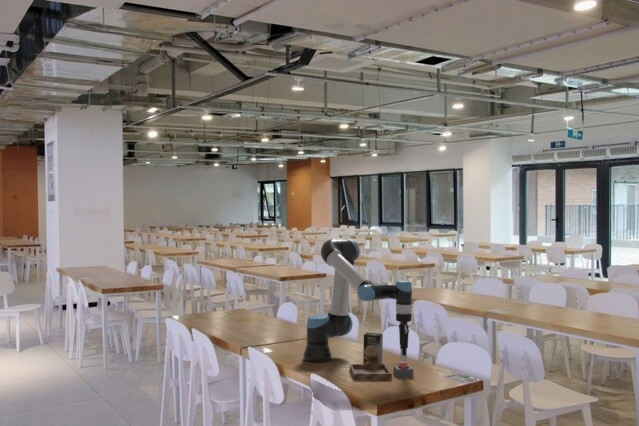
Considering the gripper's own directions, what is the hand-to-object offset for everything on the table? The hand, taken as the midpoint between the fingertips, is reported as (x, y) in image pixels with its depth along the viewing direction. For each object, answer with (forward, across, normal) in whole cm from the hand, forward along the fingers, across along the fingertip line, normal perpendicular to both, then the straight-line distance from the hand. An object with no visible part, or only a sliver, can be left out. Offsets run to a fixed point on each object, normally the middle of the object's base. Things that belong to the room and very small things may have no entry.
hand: (403, 361), depth 285 cm
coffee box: (+7, +20, +12) cm, 25 cm away
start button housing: (+7, 0, 0) cm, 7 cm away
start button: (+4, 0, 0) cm, 4 cm away
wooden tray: (+7, +1, +16) cm, 17 cm away
